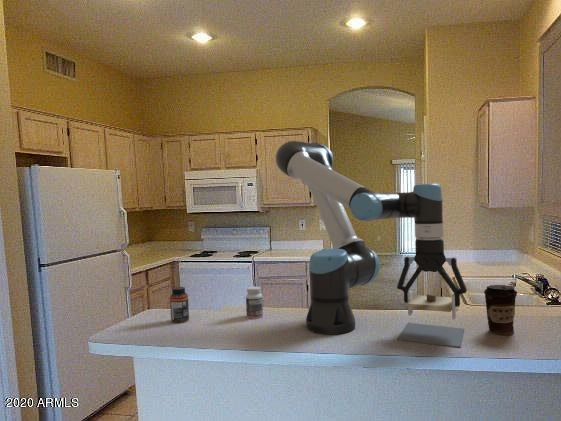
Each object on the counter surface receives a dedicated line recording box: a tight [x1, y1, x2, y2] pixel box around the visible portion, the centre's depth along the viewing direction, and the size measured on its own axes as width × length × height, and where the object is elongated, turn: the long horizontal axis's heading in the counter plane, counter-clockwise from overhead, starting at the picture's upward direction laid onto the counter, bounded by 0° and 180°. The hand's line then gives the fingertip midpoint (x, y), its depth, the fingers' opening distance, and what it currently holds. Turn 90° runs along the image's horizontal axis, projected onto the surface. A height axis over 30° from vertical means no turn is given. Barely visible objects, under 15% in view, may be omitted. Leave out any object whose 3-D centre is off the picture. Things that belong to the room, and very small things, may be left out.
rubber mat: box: [396, 322, 465, 349], centre depth 114 cm, size 16×16×1 cm
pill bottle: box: [245, 286, 264, 319], centre depth 138 cm, size 6×6×10 cm
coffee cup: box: [483, 284, 518, 336], centre depth 114 cm, size 9×8×13 cm
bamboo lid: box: [407, 293, 452, 313], centre depth 114 cm, size 11×11×3 cm
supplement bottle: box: [169, 286, 190, 324], centre depth 135 cm, size 6×6×11 cm
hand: (431, 316), depth 114 cm, fingers closed on bamboo lid, 11 cm apart
